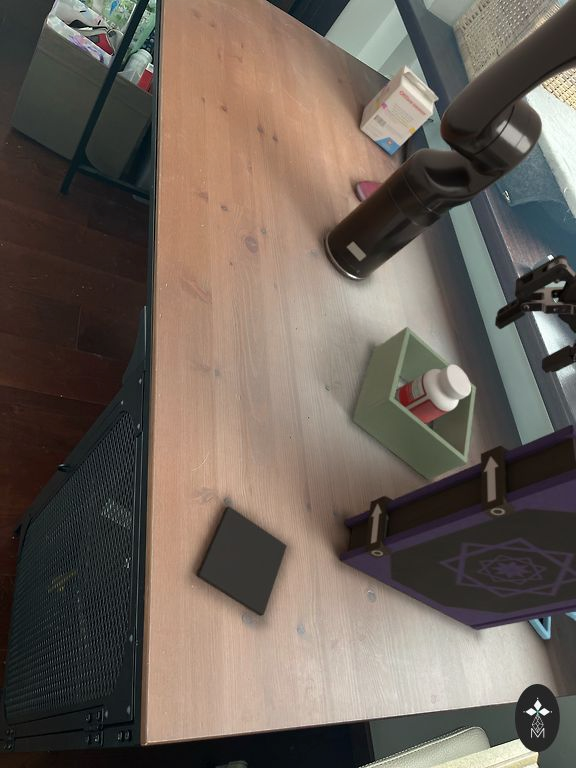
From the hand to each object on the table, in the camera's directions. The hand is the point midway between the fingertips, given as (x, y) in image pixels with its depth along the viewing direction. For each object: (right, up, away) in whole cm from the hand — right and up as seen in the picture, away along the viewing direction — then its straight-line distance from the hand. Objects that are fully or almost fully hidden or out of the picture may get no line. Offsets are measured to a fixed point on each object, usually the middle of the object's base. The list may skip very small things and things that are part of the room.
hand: (520, 344), depth 74 cm
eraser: (-12, +29, +39) cm, 50 cm away
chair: (+6, -36, +14) cm, 39 cm away
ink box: (-10, +46, +51) cm, 69 cm away
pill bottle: (-12, -9, +15) cm, 21 cm away
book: (-13, -28, +2) cm, 31 cm away
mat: (-33, -23, -11) cm, 41 cm away
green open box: (-12, -9, +15) cm, 21 cm away
